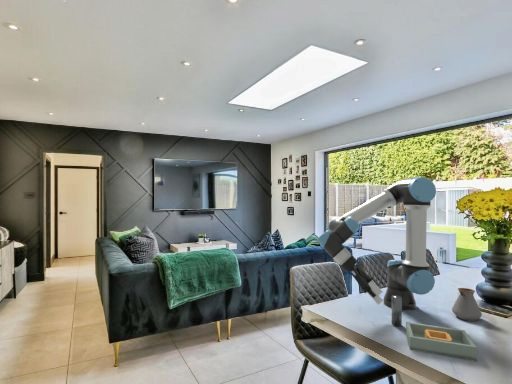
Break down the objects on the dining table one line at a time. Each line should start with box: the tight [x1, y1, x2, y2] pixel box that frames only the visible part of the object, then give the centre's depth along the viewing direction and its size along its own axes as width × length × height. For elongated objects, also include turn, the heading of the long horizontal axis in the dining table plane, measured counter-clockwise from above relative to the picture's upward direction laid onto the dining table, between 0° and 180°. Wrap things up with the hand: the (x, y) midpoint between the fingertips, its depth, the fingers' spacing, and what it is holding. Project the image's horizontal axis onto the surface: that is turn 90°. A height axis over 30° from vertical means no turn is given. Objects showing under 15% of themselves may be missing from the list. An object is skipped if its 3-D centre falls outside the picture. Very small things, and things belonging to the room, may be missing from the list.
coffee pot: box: [451, 287, 483, 322], centre depth 139 cm, size 21×12×15 cm, turn 138°
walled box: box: [405, 321, 478, 362], centre depth 113 cm, size 15×20×4 cm
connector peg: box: [391, 295, 403, 328], centre depth 132 cm, size 4×4×12 cm
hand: (380, 297), depth 134 cm, fingers open, 13 cm apart
